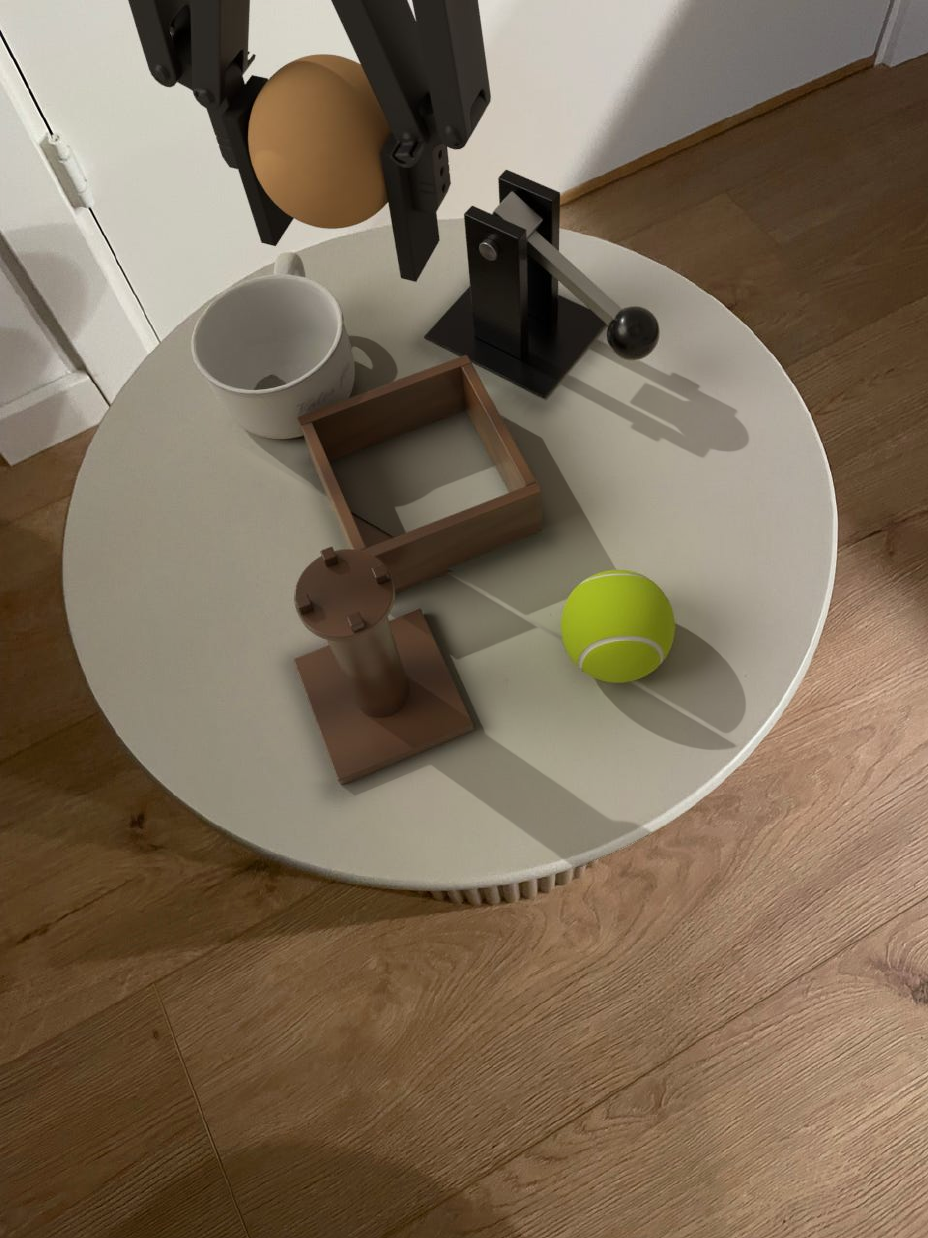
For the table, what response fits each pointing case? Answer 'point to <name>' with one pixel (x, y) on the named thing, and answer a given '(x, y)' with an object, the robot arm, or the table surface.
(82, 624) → the table surface
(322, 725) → the stand
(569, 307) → the bracket
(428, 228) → the robot arm
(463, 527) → the bin
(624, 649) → the tennis ball
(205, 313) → the teacup
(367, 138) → the cork ball
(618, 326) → the lever
